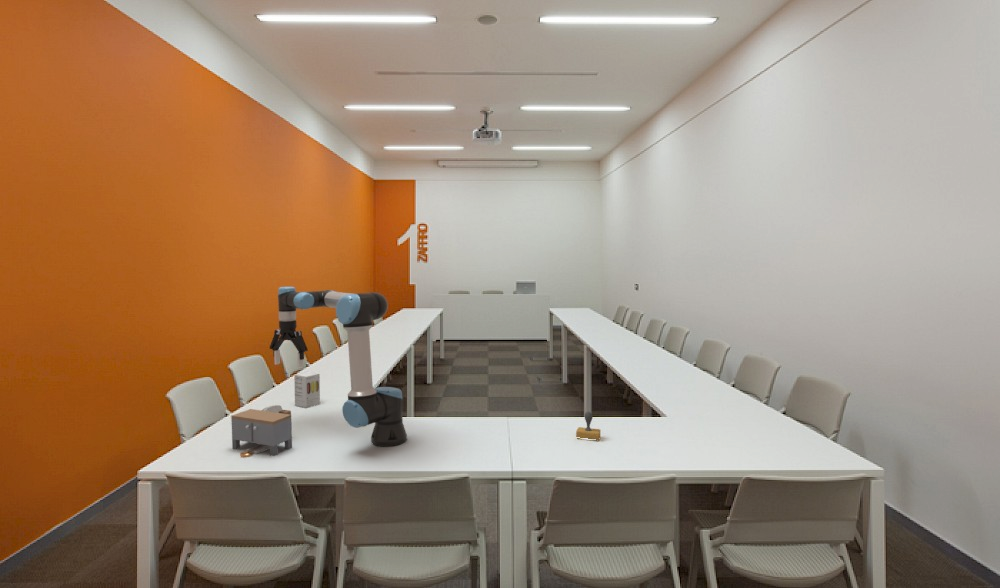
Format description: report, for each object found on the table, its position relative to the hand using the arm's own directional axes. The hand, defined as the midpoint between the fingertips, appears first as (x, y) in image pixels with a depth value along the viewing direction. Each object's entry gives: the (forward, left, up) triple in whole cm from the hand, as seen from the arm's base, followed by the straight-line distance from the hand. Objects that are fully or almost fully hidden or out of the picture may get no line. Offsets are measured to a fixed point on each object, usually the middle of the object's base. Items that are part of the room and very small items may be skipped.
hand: (288, 365), depth 245 cm
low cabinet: (-10, +27, -29) cm, 41 cm away
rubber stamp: (-134, -35, -29) cm, 141 cm away
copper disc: (-10, +35, -29) cm, 47 cm away
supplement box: (+16, -30, -29) cm, 45 cm away
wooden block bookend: (-10, +23, -29) cm, 38 cm away
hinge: (+9, +3, -29) cm, 30 cm away
